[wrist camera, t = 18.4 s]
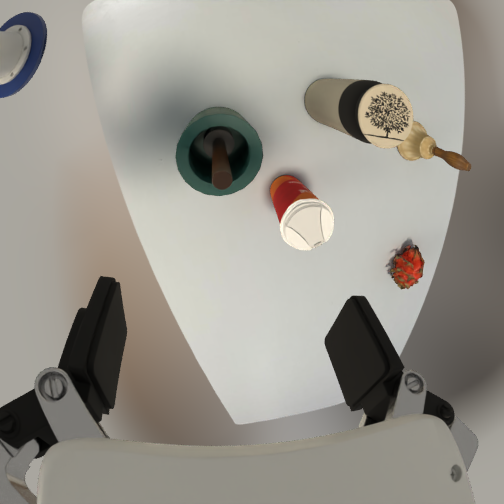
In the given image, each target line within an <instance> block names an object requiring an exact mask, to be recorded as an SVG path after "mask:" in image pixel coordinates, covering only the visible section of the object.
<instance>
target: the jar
mask: <svg viewBox="0 0 504 504" xmlns="http://www.w3.org/2000/svg"><path fill="white" fill-rule="evenodd" d="M216 126H224V127H226V128H228V129H229V130H230V132H231V133H232V136H233V139H234V149H233V151H232V153H231V154H230V155H229V156H228V160H229V165H230V169H231V174H232V184H231V186H230V187H229V188H227V189H224V190H220V189H217V188H215V187H214V186H213V184H212V158H211V157H210V156H208V155H207V154H206V152H205V151H204V148H203V141H204V136H205V133H206V132H207V130H208V129H210V128H211V127H216ZM262 158H263V151H262V144H261V141H260V138H259V136H258V134H257V132H256V131H255V130H254V129H253V127H252V126H251V125H250V124H249V123H248V122H247V121H246V120H245V119H244V118H243V117H242V116H241V115H240V114H239V113H237V112H235V111H234V110H231V109H229V108H224V107H213V108H209V109H206V110H204V111H202V112H200V113H199V114H197V115H196V116H195V117H194V118H193V119H192V120H191V122H190V123H189V124H188V126H187V127H186V129H185V130H184V132H183V133H182V135H181V138H180V140H179V142H178V144H177V149H176V162H177V167H178V170H179V172H180V174H181V175H182V177H183V179H184V180H185V182H186V183H188V184H189V185H190V186H191V187H192V188H193V189H195V190H197V191H199V192H202V193H204V194H207V195H215V196H222V195H228V194H233V193H235V192H237V191H239V190H241V189H243V188H245V187H246V186H247V185H248V184H249V183H250V182H251V181H253V179H254V178H255V176H256V175H257V173H258V171H259V170H260V167H261V163H262Z"/></svg>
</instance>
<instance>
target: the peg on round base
mask: <svg viewBox="0 0 504 504" xmlns="http://www.w3.org/2000/svg"><path fill="white" fill-rule="evenodd" d="M203 148H204V151H205V152H206V154H207V155H208V156H210V157H211V158H212V184H213V186H214V187H215V188H217V189H220V190H224V189H227V188H229V187H230V186H231V184H232V174H231V169H230V165H229V160H228V156H229V155H230V154H231V153H232V151H233V149H234V139H233V136H232V133H231V132H230V130H229V129H228V128H226V127H224V126H216V127H211V128H210V129H208V130H207V132H206V133H205V136H204V141H203Z"/></svg>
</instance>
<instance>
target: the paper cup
mask: <svg viewBox="0 0 504 504" xmlns="http://www.w3.org/2000/svg"><path fill="white" fill-rule="evenodd" d="M270 194H271V198H272V201H273V204H274V207H275V210H276V213H277V216H278V219H279V222H280V232H281V235H282V237H283V239H284V240H285V241H286V242H287V243H288V244H289V245H291V246H293V247H294V248H297V249H300V250H312V249H311V248H314V247H315V248H316V247H318V246H320V245H322V243H323V242H324V241H325V242H326V241H327V240H328V239H329V238H330V236H331V234H332V232H333V228H334V216H333V212H332V210H331V208H330V207H329V206H328V205H327V204H326V203H325V202H323V201H321V200H319V199H318V198H317V197H316V196H315V195H314V194H313V193H312V192H311V191H310V190H309V189H308V188H307V187H305V186H304V185H303V184H302V183H301V182H300V181H299V180H298V179H296V178H295V177H293V176H290V175H283V176H280V177H278V178H277V179H276V180H274V182H273V183H272V185H271V188H270Z"/></svg>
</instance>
